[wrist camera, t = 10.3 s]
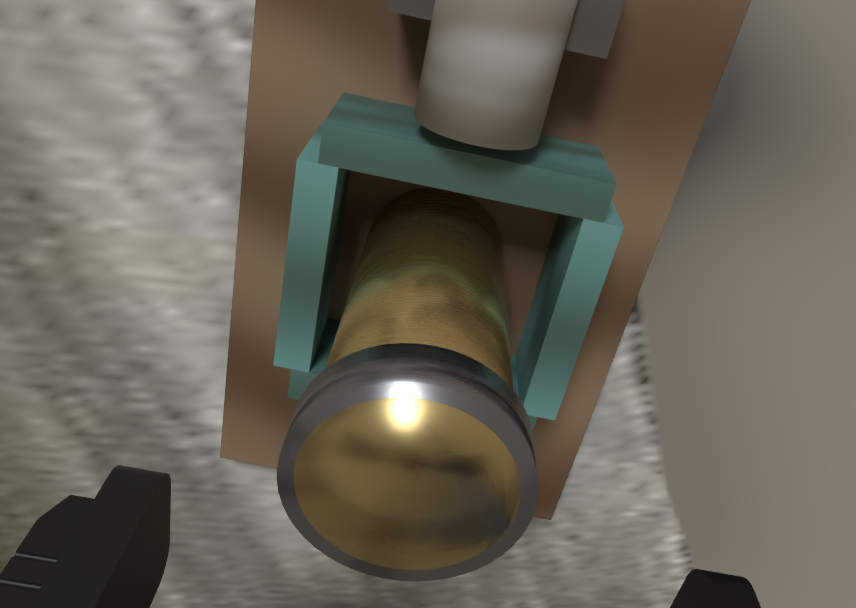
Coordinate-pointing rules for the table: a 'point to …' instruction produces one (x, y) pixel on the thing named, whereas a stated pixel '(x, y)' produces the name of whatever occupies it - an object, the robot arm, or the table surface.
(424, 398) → the cylinder
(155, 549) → the robot arm
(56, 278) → the table surface
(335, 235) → the shaft bench
